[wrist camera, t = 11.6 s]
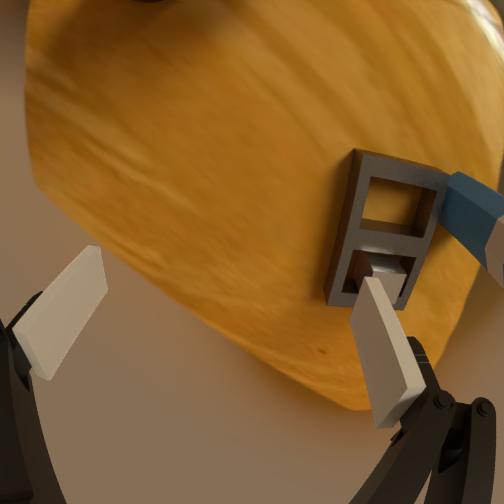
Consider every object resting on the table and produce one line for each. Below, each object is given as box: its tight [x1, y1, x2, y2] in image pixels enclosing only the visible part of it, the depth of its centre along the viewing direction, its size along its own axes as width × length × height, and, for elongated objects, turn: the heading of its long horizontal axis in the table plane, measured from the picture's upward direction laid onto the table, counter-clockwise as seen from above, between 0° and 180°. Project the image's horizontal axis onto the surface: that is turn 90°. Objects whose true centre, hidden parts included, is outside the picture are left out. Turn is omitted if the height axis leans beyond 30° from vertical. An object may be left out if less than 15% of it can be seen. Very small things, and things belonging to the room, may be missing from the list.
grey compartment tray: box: [323, 148, 450, 310], centre depth 39 cm, size 22×13×4 cm, turn 174°
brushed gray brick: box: [353, 250, 407, 304], centre depth 40 cm, size 5×5×7 cm
